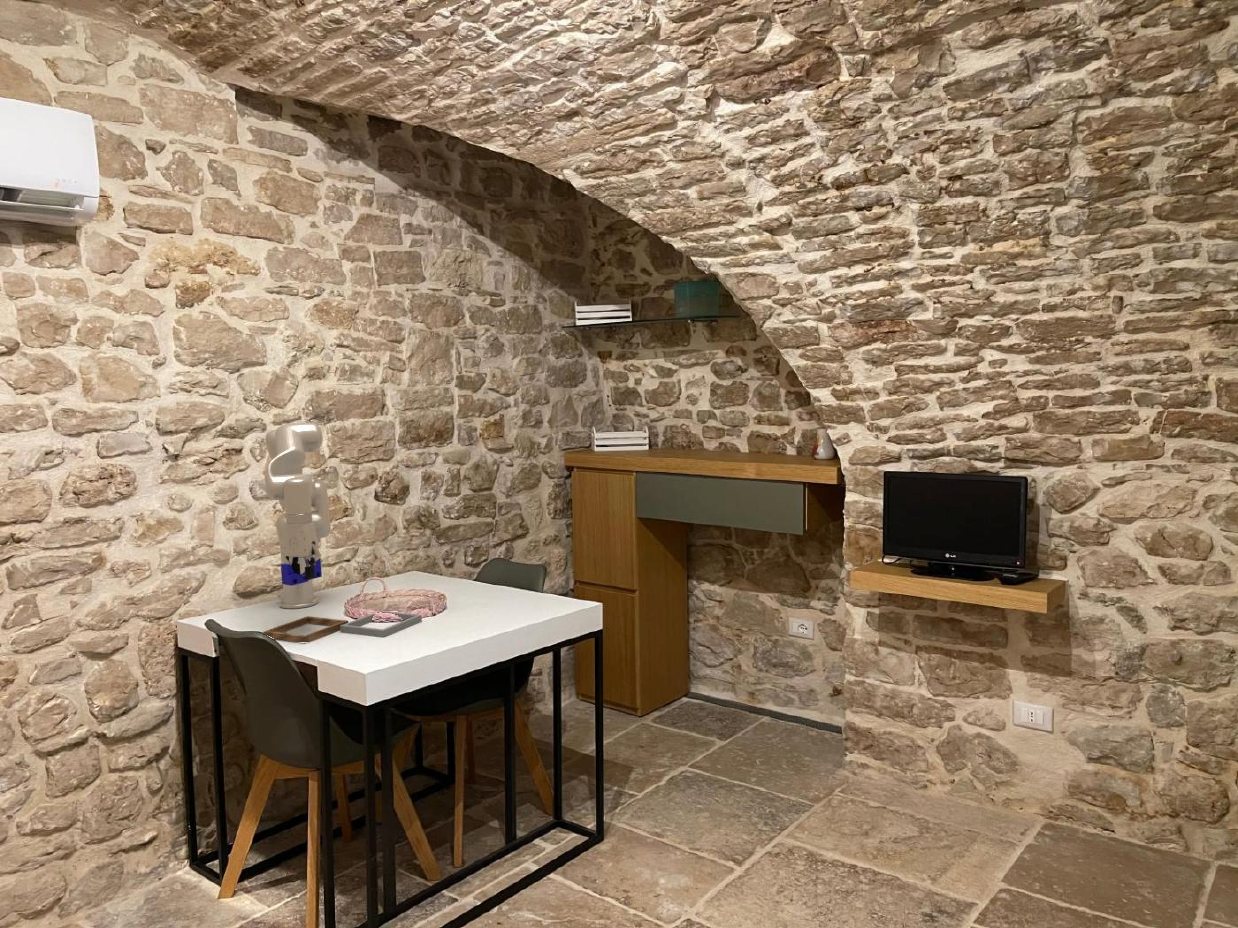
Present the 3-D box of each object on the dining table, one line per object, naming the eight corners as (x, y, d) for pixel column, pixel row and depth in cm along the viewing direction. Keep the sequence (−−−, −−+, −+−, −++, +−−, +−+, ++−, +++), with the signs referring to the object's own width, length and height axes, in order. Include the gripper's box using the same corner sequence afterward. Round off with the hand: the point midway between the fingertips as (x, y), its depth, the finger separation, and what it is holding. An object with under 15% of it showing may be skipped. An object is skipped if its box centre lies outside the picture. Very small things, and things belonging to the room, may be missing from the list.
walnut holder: (263, 638, 285) (263, 631, 284) (307, 622, 301) (307, 616, 301) (305, 643, 278) (305, 636, 277) (348, 626, 294) (348, 620, 294)
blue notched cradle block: (291, 585, 282) (290, 565, 281) (282, 583, 285) (280, 564, 284) (324, 577, 292) (323, 558, 291) (315, 575, 294) (314, 556, 294)
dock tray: (340, 632, 289) (340, 625, 288) (380, 616, 305) (379, 610, 305) (383, 637, 282) (383, 630, 281) (421, 621, 298) (421, 614, 298)
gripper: (268, 519, 286) (272, 578, 288) (311, 522, 279) (315, 583, 281) (286, 515, 293) (290, 573, 295) (329, 518, 286) (333, 577, 288)
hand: (303, 577), depth 288 cm, fingers closed on blue notched cradle block, 4 cm apart
